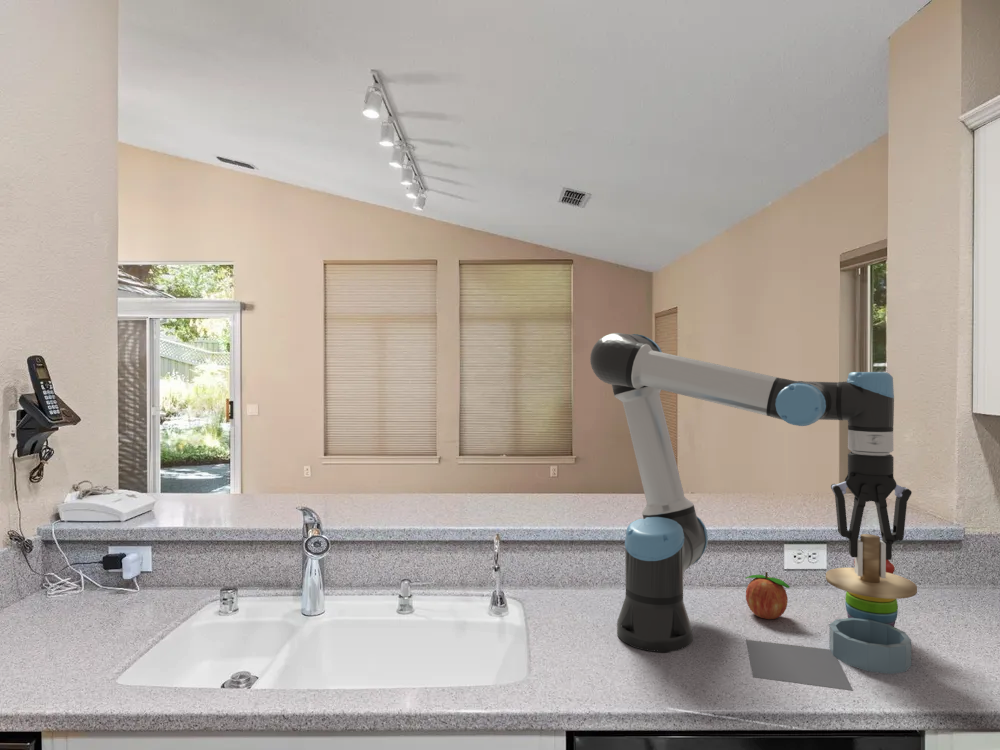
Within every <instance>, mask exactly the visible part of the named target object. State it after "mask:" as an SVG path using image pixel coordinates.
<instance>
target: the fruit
mask: <svg viewBox="0 0 1000 750" xmlns="http://www.w3.org/2000/svg"><path fill="white" fill-rule="evenodd" d="M745 579H752V580H751V581H750V582H749V583H748V585H747V587H746V590H745V601H746V604H747V605H748V608H749V610H750V611H751V612H752V614H754V615H755V616H756V617H758V618H760V619H765V620H775V619H778V618H780V617H781V616H782V615H784V613H785V611H786V609H787V607H788V600H789V598H788V594H787V590H786V589H785V588H787V589H790V588H791V587H790V585H789V584H788V583H786V582H785V581H784V580H782V579H779V578H777V577H771V576H768V572H767V571H765V575H764V574H753V575H748V576H746V577H745Z"/></svg>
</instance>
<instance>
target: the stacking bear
mask: <svg viewBox="0 0 1000 750" xmlns="http://www.w3.org/2000/svg"><path fill="white" fill-rule="evenodd" d="M853 565H854V567H855V558H854V559H853ZM895 568H896V567H895V565H894V564H893V563H892V562H891V561H890V560H886V572H888V573H892V574H894V573H895ZM845 610H846V613H847V614H846V615H847V618H858V619H868V620H873V621H877V622H881V623H884V624H888V625H891V626H893V627H895V625H896V620H897V618H898V613H899V611H898V610H899V606H898V599H886V598H875V597H869V596H863V595H858V594H854V593H850V592H847V591H845Z"/></svg>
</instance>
